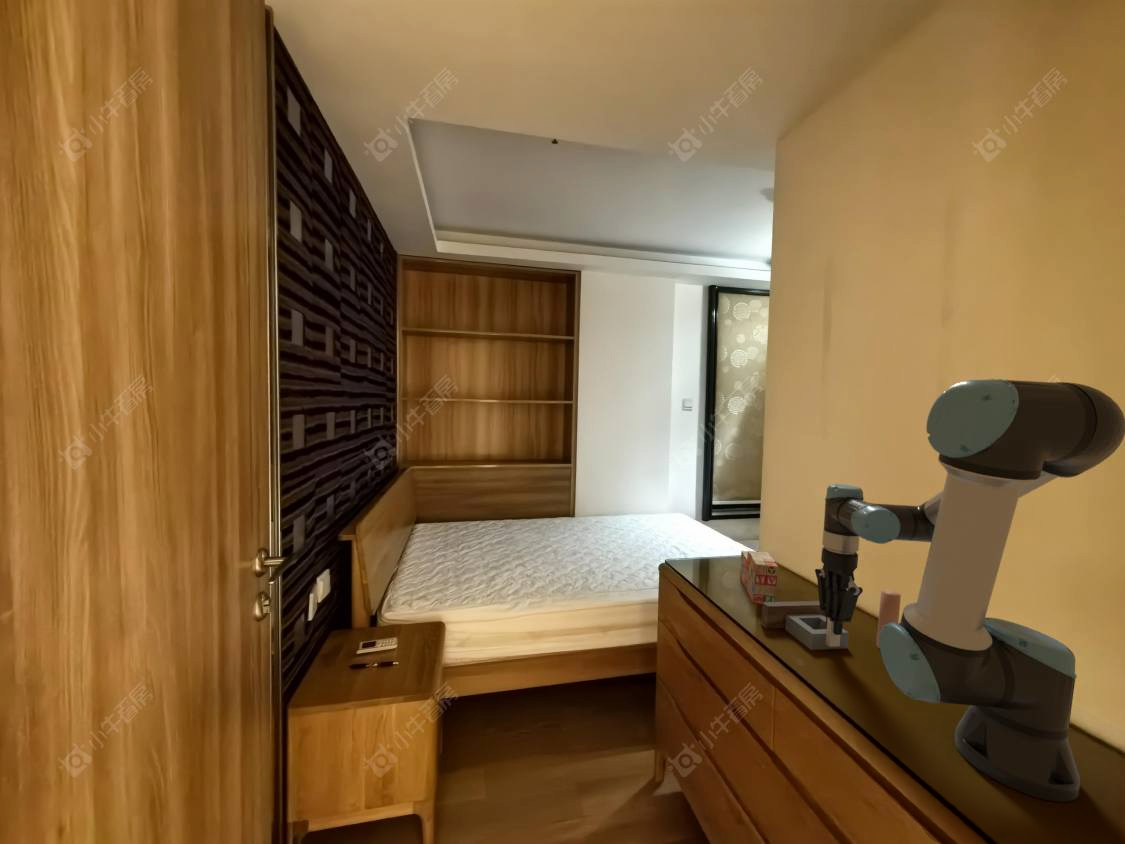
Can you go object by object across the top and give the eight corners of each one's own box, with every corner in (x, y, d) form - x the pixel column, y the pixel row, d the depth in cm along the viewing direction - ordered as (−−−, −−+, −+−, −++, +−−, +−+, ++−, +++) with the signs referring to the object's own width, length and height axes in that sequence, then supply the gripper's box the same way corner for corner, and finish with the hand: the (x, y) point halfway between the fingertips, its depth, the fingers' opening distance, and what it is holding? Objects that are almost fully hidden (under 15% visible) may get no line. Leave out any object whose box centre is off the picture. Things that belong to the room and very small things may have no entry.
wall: (834, 626, 127) (835, 604, 126) (766, 628, 124) (768, 606, 123) (827, 621, 129) (829, 600, 129) (761, 624, 126) (762, 602, 126)
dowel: (894, 654, 114) (899, 597, 113) (875, 648, 116) (880, 592, 115) (896, 648, 117) (901, 593, 116) (877, 642, 119) (882, 588, 118)
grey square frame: (847, 648, 115) (848, 632, 115) (811, 650, 114) (812, 634, 114) (819, 628, 125) (820, 613, 125) (785, 629, 124) (786, 614, 123)
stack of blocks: (739, 577, 160) (741, 541, 159) (758, 579, 159) (761, 543, 158) (752, 604, 139) (755, 563, 138) (775, 606, 138) (778, 565, 137)
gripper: (875, 558, 107) (867, 659, 108) (834, 540, 120) (827, 631, 121) (846, 559, 106) (838, 660, 107) (807, 541, 118) (800, 632, 120)
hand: (832, 644), depth 114 cm, fingers closed
